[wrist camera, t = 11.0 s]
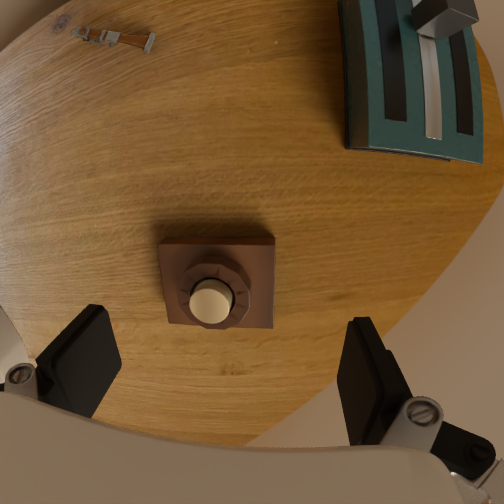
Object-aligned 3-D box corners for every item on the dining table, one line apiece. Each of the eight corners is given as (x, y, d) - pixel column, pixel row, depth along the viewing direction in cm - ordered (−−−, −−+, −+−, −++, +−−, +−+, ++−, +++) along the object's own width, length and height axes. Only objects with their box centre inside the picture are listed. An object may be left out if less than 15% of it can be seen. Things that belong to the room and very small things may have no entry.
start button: (231, 279, 24) (228, 289, 22) (233, 313, 25) (230, 325, 23) (192, 278, 24) (186, 287, 22) (196, 311, 25) (191, 322, 23)
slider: (438, 18, 13) (472, -4, 8) (442, 40, 13) (479, 21, 9) (410, 10, 13) (441, -18, 8) (414, 32, 14) (448, 7, 9)
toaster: (437, 24, 17) (468, 4, 12) (447, 161, 22) (485, 167, 16) (337, 1, 18) (351, -31, 12) (344, 149, 23) (365, 150, 17)
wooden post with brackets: (82, 32, 19) (72, 20, 15) (154, 43, 23) (155, 31, 19) (76, 48, 20) (65, 38, 16) (148, 58, 23) (148, 49, 19)
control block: (275, 237, 26) (275, 252, 22) (273, 316, 29) (273, 340, 25) (165, 236, 27) (149, 251, 23) (175, 311, 29) (162, 333, 26)
